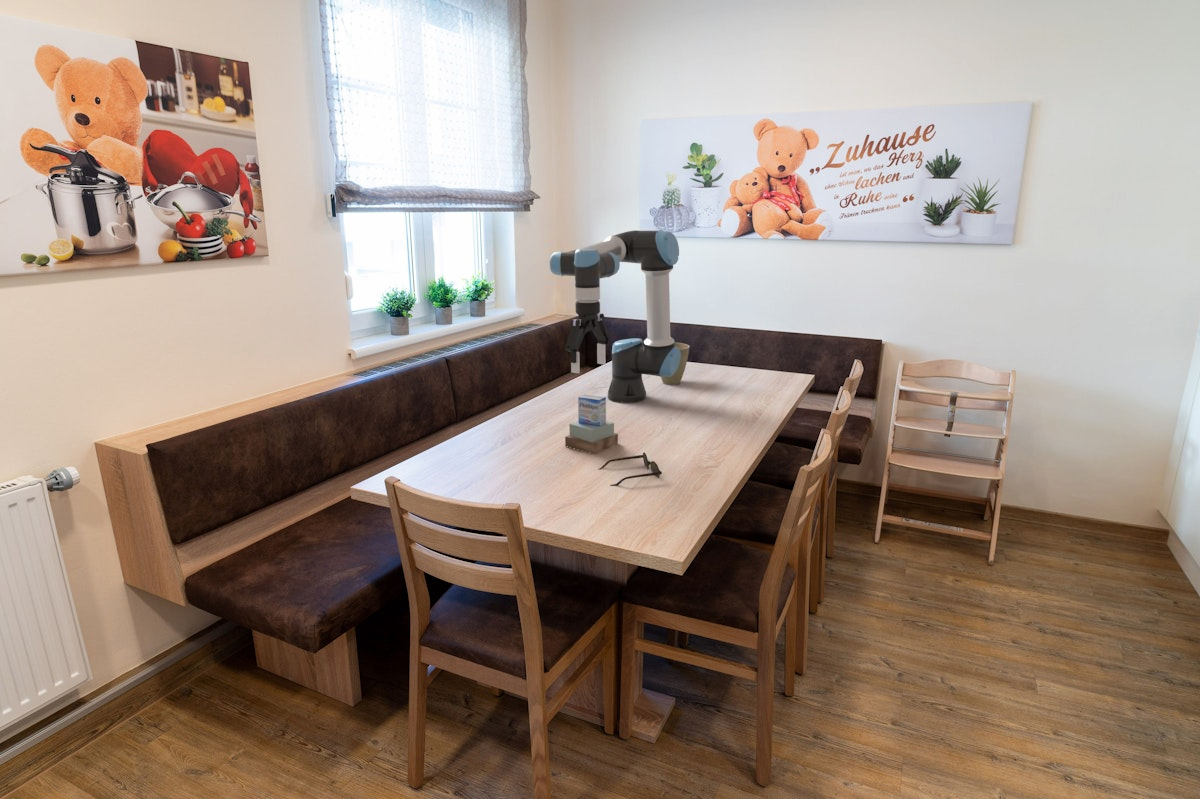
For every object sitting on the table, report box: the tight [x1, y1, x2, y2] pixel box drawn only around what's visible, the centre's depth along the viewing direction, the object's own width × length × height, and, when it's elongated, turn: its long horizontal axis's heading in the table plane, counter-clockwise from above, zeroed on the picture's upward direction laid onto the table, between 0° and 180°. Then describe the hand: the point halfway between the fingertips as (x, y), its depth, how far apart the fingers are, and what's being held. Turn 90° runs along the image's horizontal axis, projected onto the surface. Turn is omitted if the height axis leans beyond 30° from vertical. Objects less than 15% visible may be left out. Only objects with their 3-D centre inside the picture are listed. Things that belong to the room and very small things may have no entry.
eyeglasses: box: [597, 452, 663, 487], centre depth 205 cm, size 15×15×5 cm
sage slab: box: [568, 420, 615, 443], centre depth 229 cm, size 10×10×4 cm
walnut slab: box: [564, 432, 619, 455], centre depth 230 cm, size 12×12×4 cm
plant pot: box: [660, 342, 690, 386], centre depth 303 cm, size 15×15×16 cm
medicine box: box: [577, 394, 607, 426], centre depth 227 cm, size 8×4×9 cm, turn 63°
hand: (588, 368), depth 226 cm, fingers open, 13 cm apart
